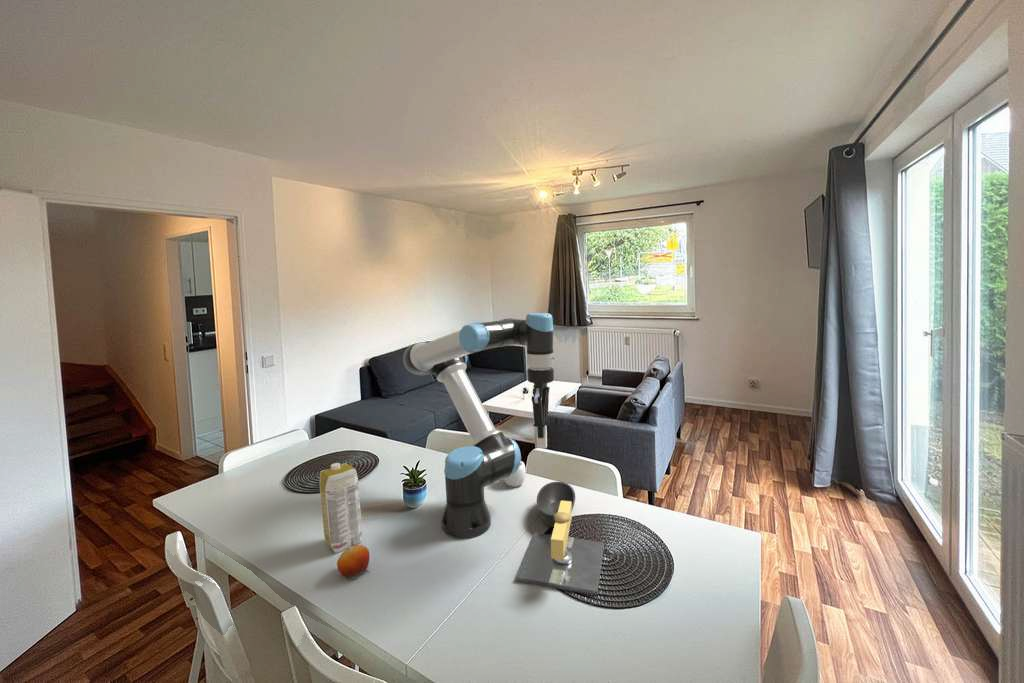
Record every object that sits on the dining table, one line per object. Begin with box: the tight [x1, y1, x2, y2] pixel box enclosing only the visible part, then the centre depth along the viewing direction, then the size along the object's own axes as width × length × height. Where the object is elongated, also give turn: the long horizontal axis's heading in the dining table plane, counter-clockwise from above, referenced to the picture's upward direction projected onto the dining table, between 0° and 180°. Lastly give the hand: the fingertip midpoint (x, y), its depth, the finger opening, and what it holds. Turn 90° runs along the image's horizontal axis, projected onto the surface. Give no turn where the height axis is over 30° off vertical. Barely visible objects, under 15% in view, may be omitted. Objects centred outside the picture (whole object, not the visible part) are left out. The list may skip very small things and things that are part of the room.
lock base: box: [515, 532, 605, 597], centre depth 114 cm, size 20×20×7 cm
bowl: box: [536, 481, 576, 528], centre depth 138 cm, size 12×22×6 cm, turn 169°
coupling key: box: [551, 501, 573, 560], centre depth 113 cm, size 19×4×6 cm, turn 166°
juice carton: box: [319, 462, 363, 554], centre depth 124 cm, size 9×8×24 cm
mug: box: [498, 460, 527, 488], centre depth 160 cm, size 12×8×8 cm
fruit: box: [336, 544, 370, 580], centre depth 112 cm, size 8×8×8 cm
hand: (541, 447), depth 126 cm, fingers closed
